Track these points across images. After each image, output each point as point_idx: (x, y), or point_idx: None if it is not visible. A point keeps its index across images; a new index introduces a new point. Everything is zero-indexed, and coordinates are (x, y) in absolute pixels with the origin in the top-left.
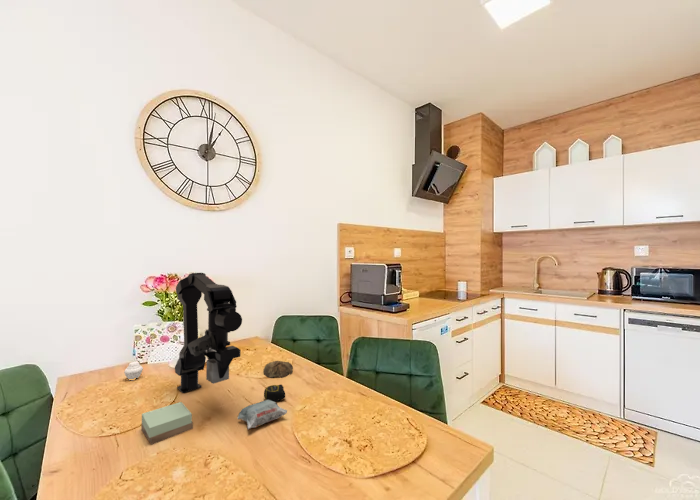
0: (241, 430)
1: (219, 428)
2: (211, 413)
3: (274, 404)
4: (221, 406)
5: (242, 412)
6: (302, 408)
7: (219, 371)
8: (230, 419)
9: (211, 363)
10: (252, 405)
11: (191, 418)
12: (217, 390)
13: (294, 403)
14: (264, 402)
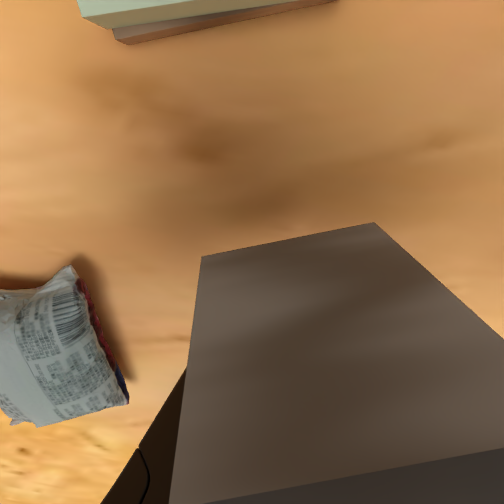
0: (4, 253)
1: (64, 176)
2: (250, 173)
3: (23, 419)
4: (293, 229)
5: (52, 299)
6: (92, 440)
7: (164, 409)
8: (133, 236)
9: (277, 475)
10: (38, 356)
11: (96, 22)
12: (483, 247)
13: (143, 432)
14: (46, 399)
